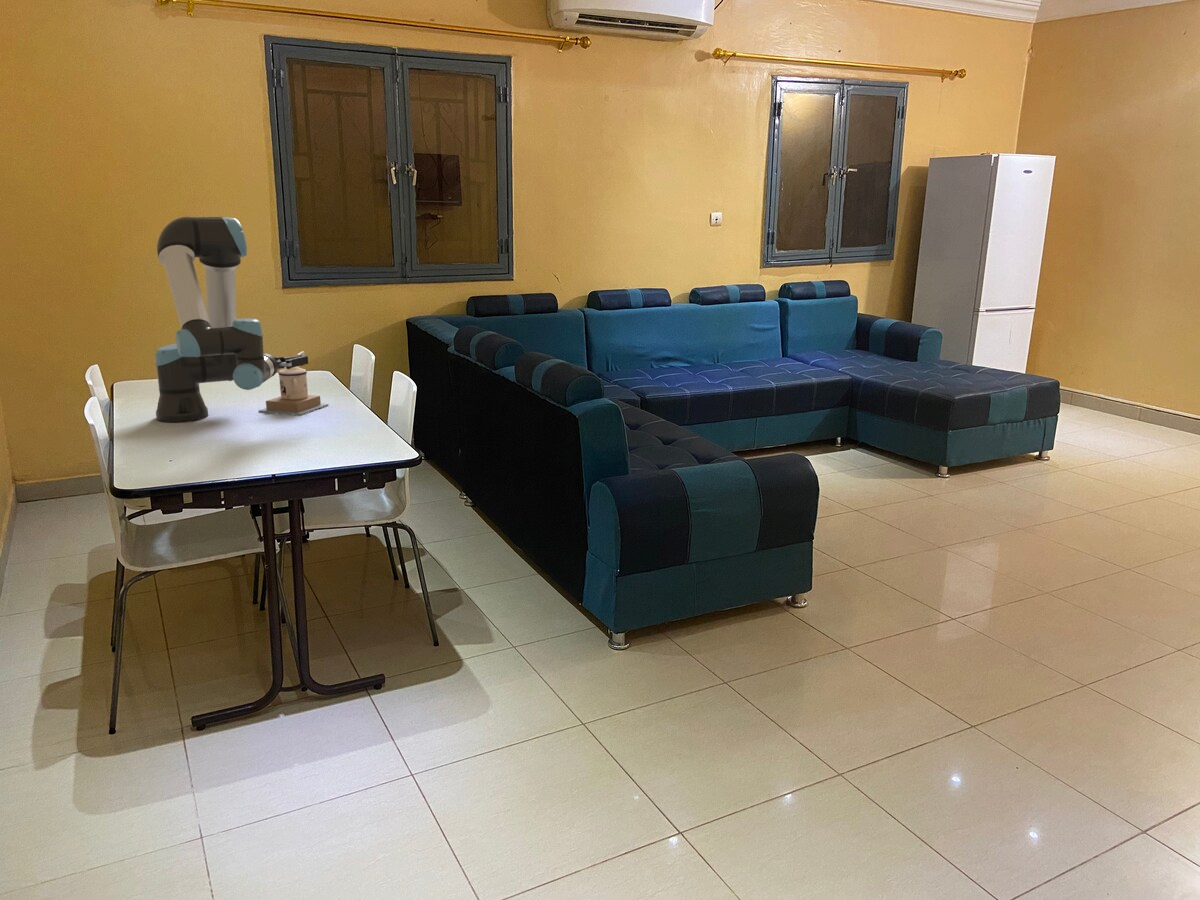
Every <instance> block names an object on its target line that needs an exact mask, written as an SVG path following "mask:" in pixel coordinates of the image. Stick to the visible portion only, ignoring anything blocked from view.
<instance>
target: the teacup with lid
mask: <svg viewBox="0 0 1200 900" xmlns="http://www.w3.org/2000/svg"><path fill="white" fill-rule="evenodd" d="M307 373H308V372H307V370H306V369H305V368H301V366H297V367H293V368H291V369H286V367H284V368H281V369H279V371H278V377H279V389H280V391H279V392H280V396H281V398H282V399H285V400H298V399H304V398H307V397H308V395H309V393H308V379H307V378H308V377H307Z"/></svg>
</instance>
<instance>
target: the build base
mask: <svg viewBox="0 0 1200 900" xmlns="http://www.w3.org/2000/svg"><path fill="white" fill-rule="evenodd" d="M265 406H266V407H264V408H262V409H259V410H258V413H263V412H269V413H268V414H275V413H278V414H279V415H287V414H294V415H293V416H300V415H301V416H303V415H302V414H304V415H306V414H305V413H307V414H309V413H312V412H315V411H317V410H316V409H318V410H320V409H319V408H321V409H323V408H326V407H328V406H329V403H322V402H321V396H320V395H314V394H308V397H307V398H304V399H298V400H285V399H282V398H281V395H280V396H277V397H274V398H271V399H268V400H265ZM325 406H326V407H325ZM322 407H323V408H322ZM314 410H315V411H314ZM311 411H312V412H311ZM308 412H309V413H308ZM278 414H277V415H278Z"/></svg>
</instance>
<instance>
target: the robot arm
mask: <svg viewBox="0 0 1200 900" xmlns="http://www.w3.org/2000/svg"><path fill="white" fill-rule="evenodd" d="M156 244H157V245H156V253H157V258H158V260H159V263H160V264H161V266H163V267H164V269H165V272H166V276H167V280H168V284H169V288H170V291H171V295H172V299H173V303H174V307H175V310H176V313H177V318H178V321H179V326H180V329H178V330H177V331H176V332H175V343H172V344H168V345H164V346H160V347H159V348H158V349H157V350H156V351H155V353H154V354H155V355H154V356H155V363H154V364H155V366H156V373H157V383H158V391H159V397H158V402H157V408H156V410H155V418H156V420H157V421H159V422H163V423H182V422H191V421H197V420H202V419H204V418H206V417H208V416H209V410H208V409H209V408H208V407H207V406H206V403H205V401H204V398H203V396H202V394H201V389H200V384H207V383H219V382H227V381H228V382H234V383H235V385H236V386H237V387H238V388H240V389H241V390H245V391H251V390H254V389H256V388H259V387H261V385H262V384H264V383H265V382H266V381H268V380H270V379H271V378H273V377H274V376H275V375H276V374H277V372H278V370H282V369H284V368H286V369H291V368H293V367H297V366H298V367H301V366H305V365H309V356H308V355H307V354H306V353H305V352H306V351H303V350H302V351H300V352H299V353H297V354H296V355H295V356H294V355H293V356H292V355H291V356H288V357H287V356H286V357H284V356H273V355H272V354H270V353H266V352H264V341H263V339H264V338H263V337H264V335H263V330H262V329H263V328H262V324H261V321H260V320H258V319H257V318H251V317H250V318H249V317H246V318H237V283H236V282H237V281H236V280H237V279H236V277H237V275H236V274H237V273H236V268H237V267H239V266H240V265H241V263H242V262H241V260H242V259H241V258H245V257H246V256H247V255H248V247H247V246H248V245H247V241H246V236H245V233H244V229H243V226H242V224H241V223H240V221H239V220H238V219H237V218H235V217H225V216H194V217H193V216H191V217H190V216H182V217H178V218H174V219H173V220H172V221H170V222H168V224H167V225H166V226H165V227H164V228H163V230H162V231H161V232H160V234H159V237H158V239H157V243H156ZM196 258H198V261H199V263H200V264H201V265H202V266H203V267H204V269H205V271H204V275H205V276H204V277H205V301H204V296H203V293H202V290H201V287H200V282H199V279H198V276H197V271H196V268H195V265H194V261H195V259H196ZM205 302H206V303H205Z"/></svg>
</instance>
